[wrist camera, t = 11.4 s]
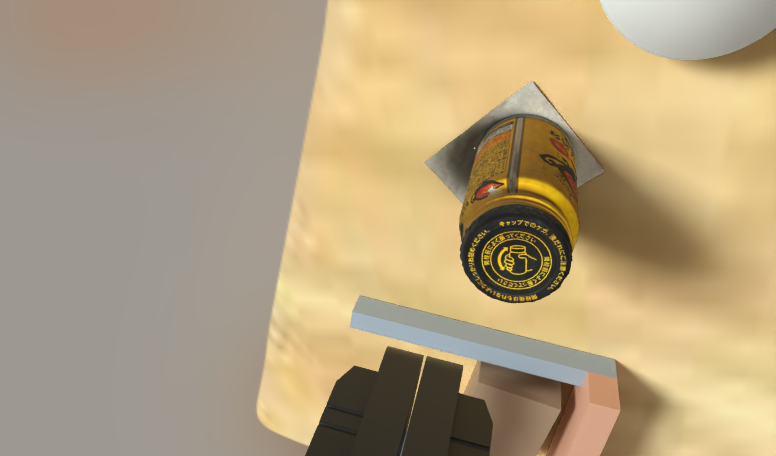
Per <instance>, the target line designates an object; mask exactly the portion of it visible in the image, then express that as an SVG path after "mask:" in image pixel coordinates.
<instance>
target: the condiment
mask: <svg viewBox="0 0 776 456" xmlns="http://www.w3.org/2000/svg"><path fill="white" fill-rule="evenodd" d="M474 147H475V148H476V149H473V148H474ZM424 163H425V164H426V165H427V166H428V167H429V168H430V169H431V170H432V171H433V172H434V173H435V174H436V175H437V176H438V177H439V178H440V179H441V181H442V182H443V183H444V184H445V185H446V186H447V187H448V188H449V189H450V190H451V191H452V192H453V193H454V194H455V196H456V197H457V198H458V199H459V200H460V201H461V203H462V204H463V207H462V210H461V215H460V223H459V229H460V235H461V242H462V244H461V247H460V251H461V253H460V258H461V260H462V266H463V268H464V271H465V273H466V275H467V276H468V278H469V279H470V281H471V282H472V283H473V284H474V285H475V286H476V287H477V288H478V289H479V290H480V291H481V292H483V293H485V294H486V295H487V296H489V297H491V298H493V299H497V300H500V301H504V302H508V303H524V302H534V301H537V300H540V299H542V298H544V297H546V296H548V295H550V294H551V293H552V292H554V291H556V290H557V289H558V288H559V287H560V286H561V284H562V282H563V280H564V279H565V278H566V277H567V275H568V274H569V271H570V268H571V261H572V252H573V249H574V247H575V244H576V241H577V237H578V231H579V215H578V200H577V188H578V187H580V186H582V185H584V184H585V183H587V182H588V181H589V180H591V179H593V178H594V177H596V176H598V175H599V174H601V173H604V172H605V171H604V170H603V168H602V167H601V166H600V165H599V163H598V162H597V161H596V160H595V159H594V157H593V156H592V155H591V153H590V152H589V151H588V150H587V148H586V147H585V146H584V145H583V143H582V142H581V141H580V140H579V138H578V137H577V136H576V134H575V133H574V132H573V131H572V130H571V128H570V127H569V126H568V125H567V123H566V122H565V121H564V120H563V119H562V117H561V116H560V115H559V114H558V112H557V111H556V110H555V109H554V107H553V106H552V105H551V104H550V103H549V102H548V101H547V99H546V98H545V97H544V96H543V94H542V93H541V92H540V91H539V89H538V88H537V87H536V86H535V84H534V83H533V82H532V81H531V82H530V83H528V84H527V85H526V86H524V87H523V88H522V89H520V90H519V91H517V92H516V93H515V94H513V95H512V96H511V97H509V98H508V99H507V100H505V101H504V102H503V103H502V104H500V105H499V106H497V107H496V108H495V109H493V110H492V111H491V112H489V113H488V114H487V115H486V116H484V117H483V118H482V119H480V120H479V121H478V122H477V123H475V124H474V125H472V126H471V127H470V128H469V129H468V130H466V131H465V132H464V133H463V134H461V135H460V136H458V137H457V138H456V139H454V140H453V141H452V142H450V143H449V144H447V145H446V146H445V147H444V148H442V149H441V150H440V151H439V152H438V153H436V154H435V155H434V156H432V157H431V158H429V159H428V160H427V161H425V162H424Z"/></svg>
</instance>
